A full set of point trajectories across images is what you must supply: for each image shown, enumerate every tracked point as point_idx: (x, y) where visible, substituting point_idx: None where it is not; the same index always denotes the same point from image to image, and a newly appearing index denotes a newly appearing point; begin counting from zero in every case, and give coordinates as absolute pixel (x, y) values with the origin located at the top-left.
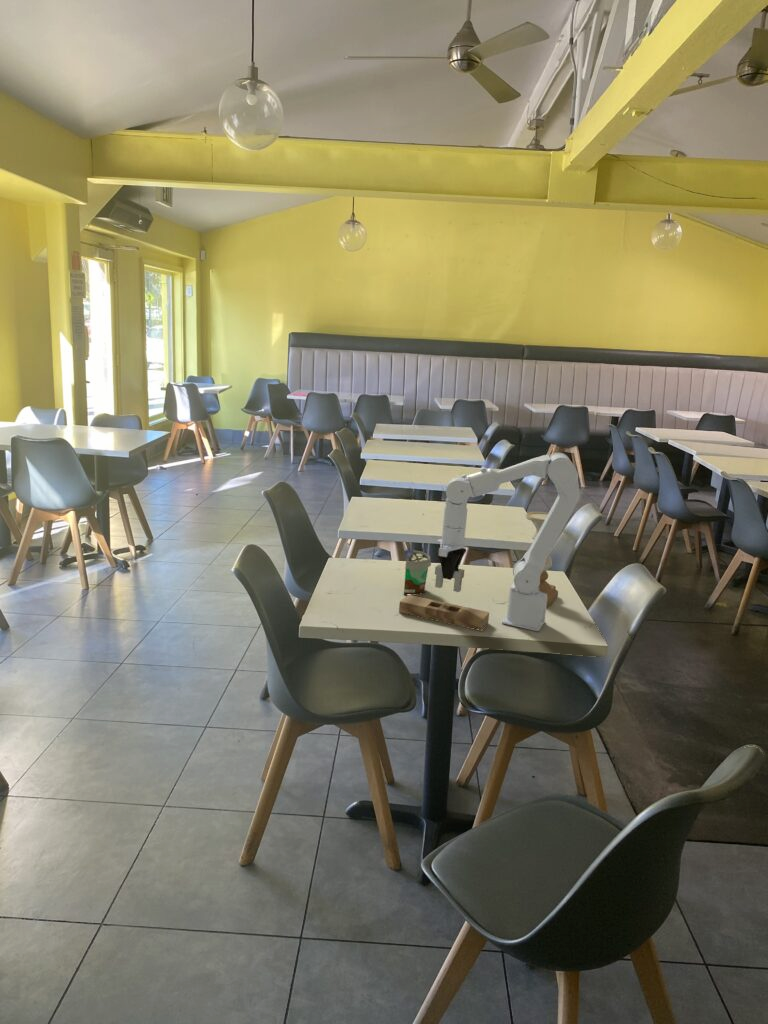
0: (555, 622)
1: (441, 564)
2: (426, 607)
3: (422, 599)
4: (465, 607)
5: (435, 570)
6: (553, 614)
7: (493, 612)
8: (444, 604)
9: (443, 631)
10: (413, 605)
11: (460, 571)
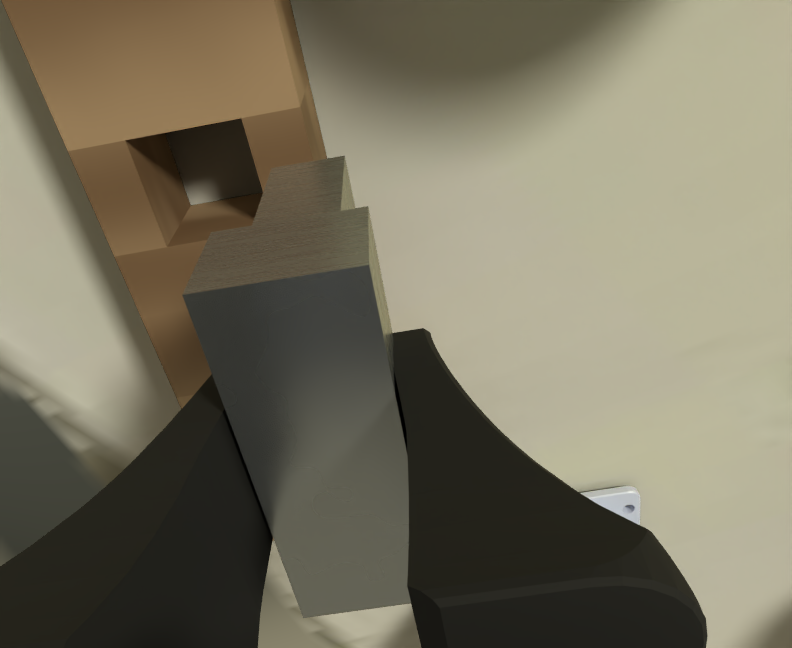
0: None
1: (100, 500)
2: (74, 161)
3: (218, 4)
4: None
5: (200, 269)
6: (775, 607)
7: (610, 410)
8: None
9: (38, 345)
10: (14, 12)
11: (320, 602)
